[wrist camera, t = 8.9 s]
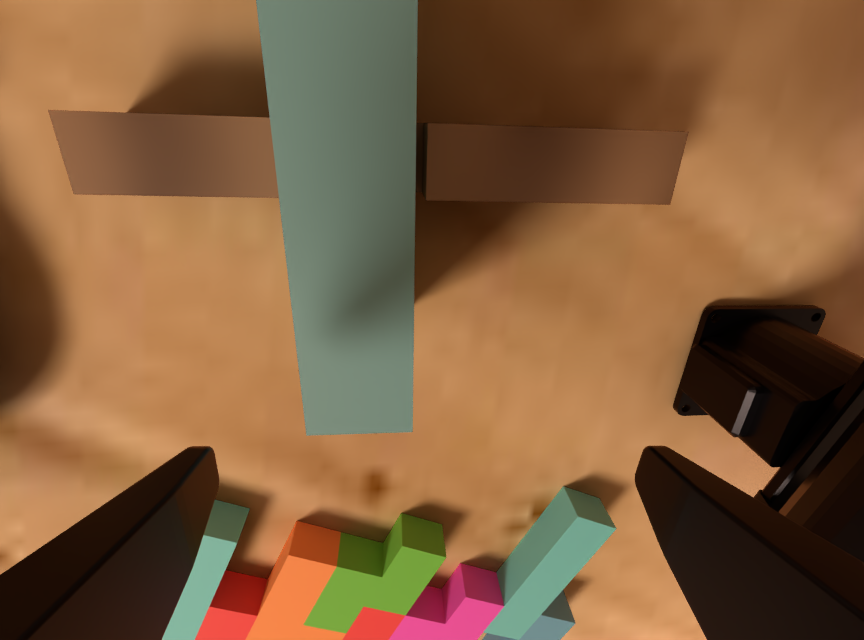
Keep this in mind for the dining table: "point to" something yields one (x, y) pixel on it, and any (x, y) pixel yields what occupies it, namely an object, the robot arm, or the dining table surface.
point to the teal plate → (347, 201)
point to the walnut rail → (435, 159)
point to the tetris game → (389, 582)
